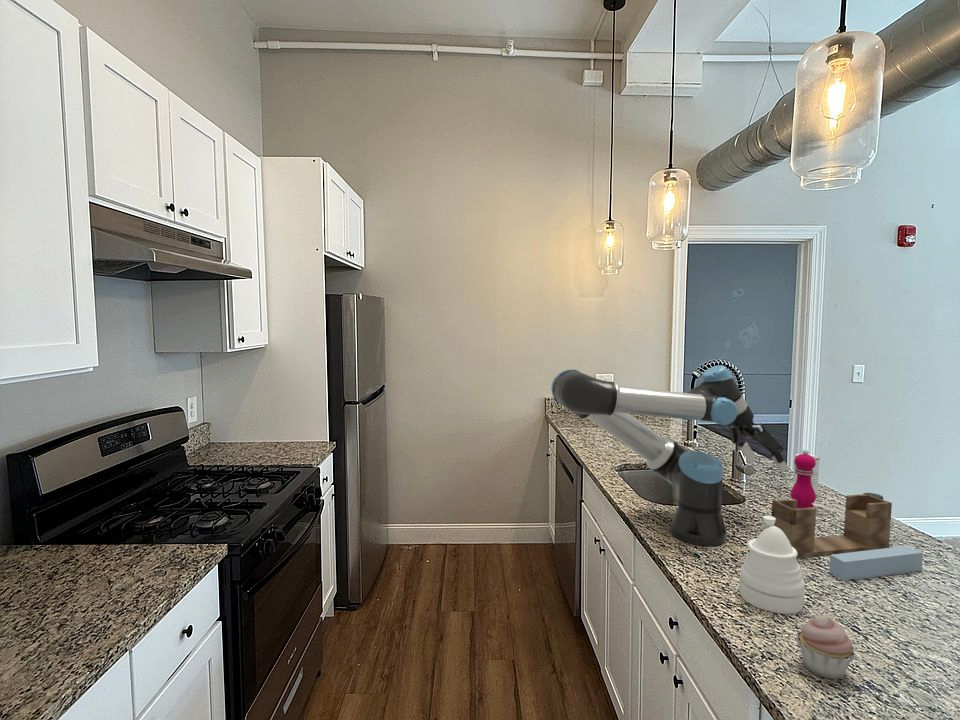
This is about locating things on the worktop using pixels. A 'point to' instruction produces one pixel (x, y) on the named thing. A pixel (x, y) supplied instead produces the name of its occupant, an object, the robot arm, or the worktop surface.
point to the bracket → (861, 526)
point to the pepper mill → (804, 481)
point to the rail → (875, 562)
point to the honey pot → (772, 572)
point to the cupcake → (825, 647)
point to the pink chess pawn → (814, 477)
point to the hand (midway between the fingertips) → (768, 465)
